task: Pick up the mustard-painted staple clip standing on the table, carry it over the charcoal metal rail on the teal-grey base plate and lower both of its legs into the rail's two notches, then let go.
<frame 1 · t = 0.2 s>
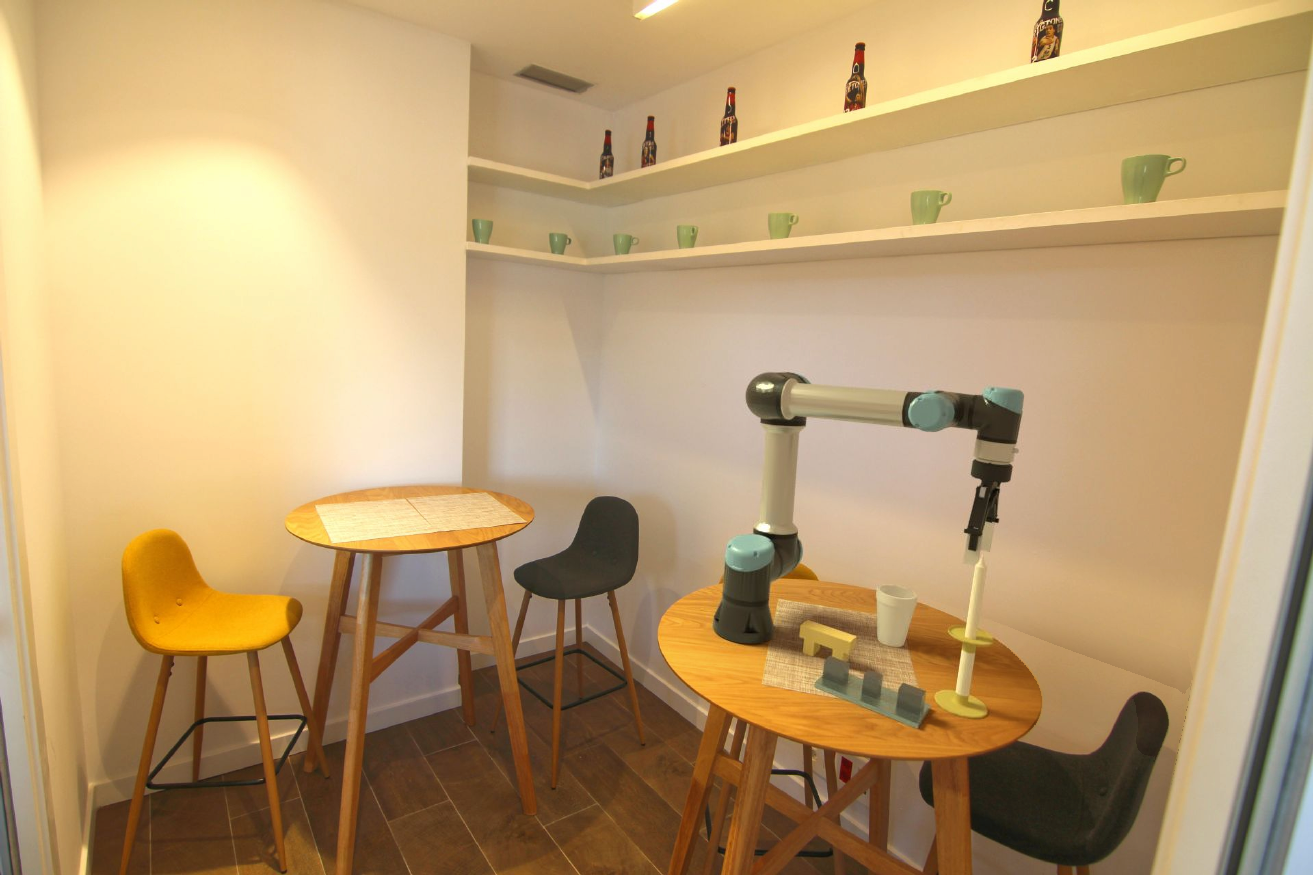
hand: (976, 557, 133), 29 cm above the table, fingers open, 13 cm apart
clip: (825, 656, 144), on the table
candle: (960, 705, 127), on the table
foam cup: (890, 641, 154), on the table
rail: (870, 697, 128), on the table
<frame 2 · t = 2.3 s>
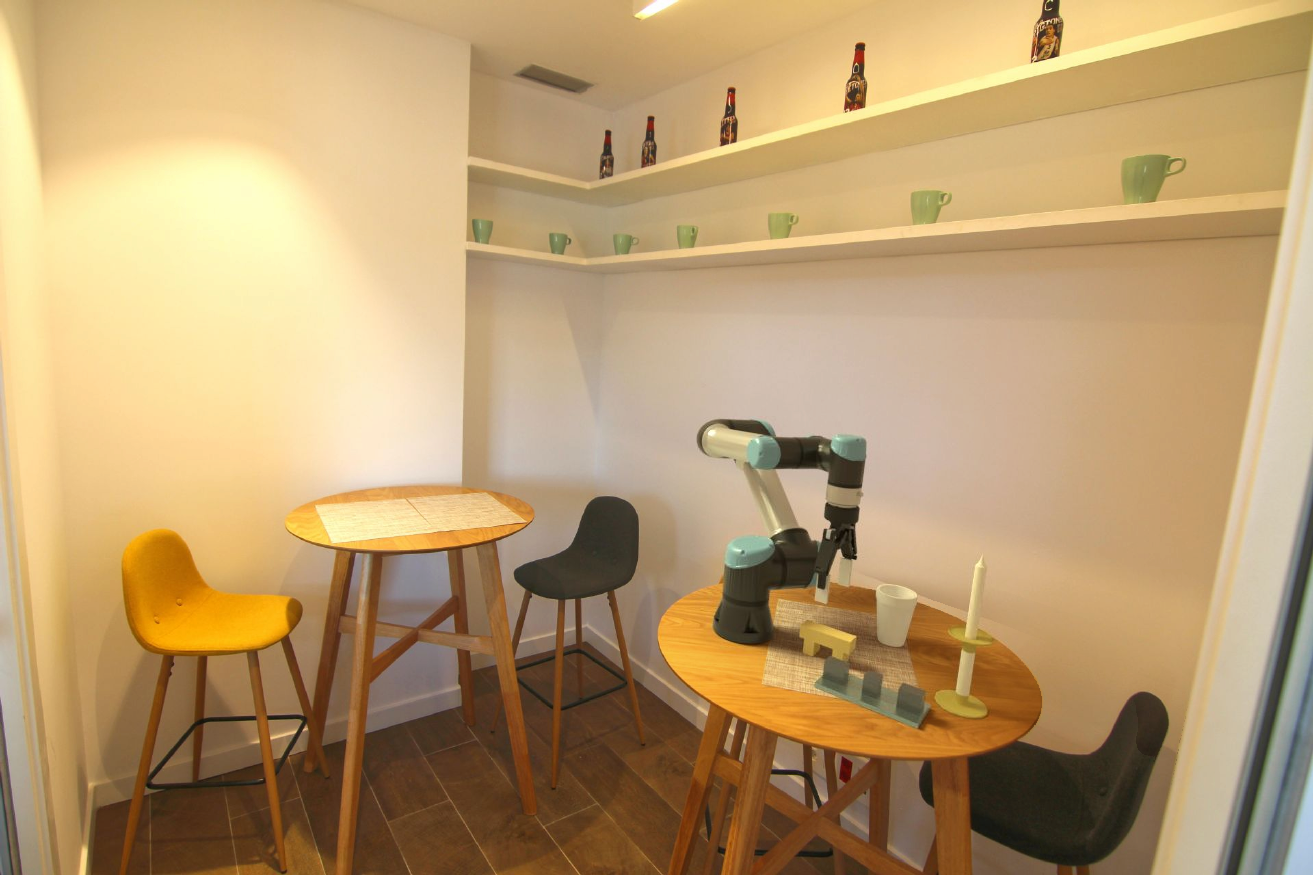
hand: (832, 593, 141), 16 cm above the table, fingers open, 13 cm apart
nothing on the table moved.
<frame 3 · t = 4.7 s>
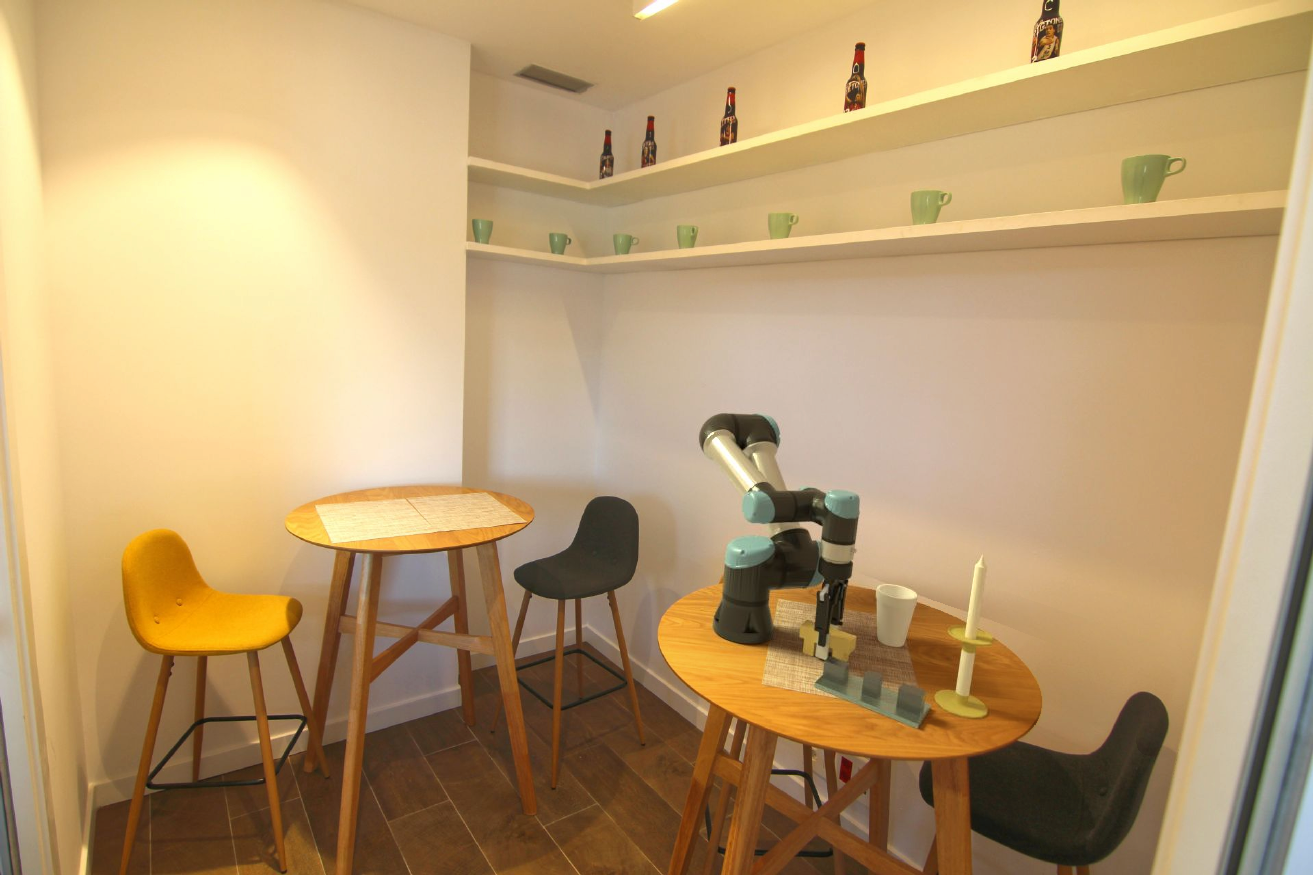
hand: (825, 653, 144), 1 cm above the table, fingers closed on clip, 4 cm apart
clip: (825, 656, 144), on the table, touching gripper
everything else where it was.
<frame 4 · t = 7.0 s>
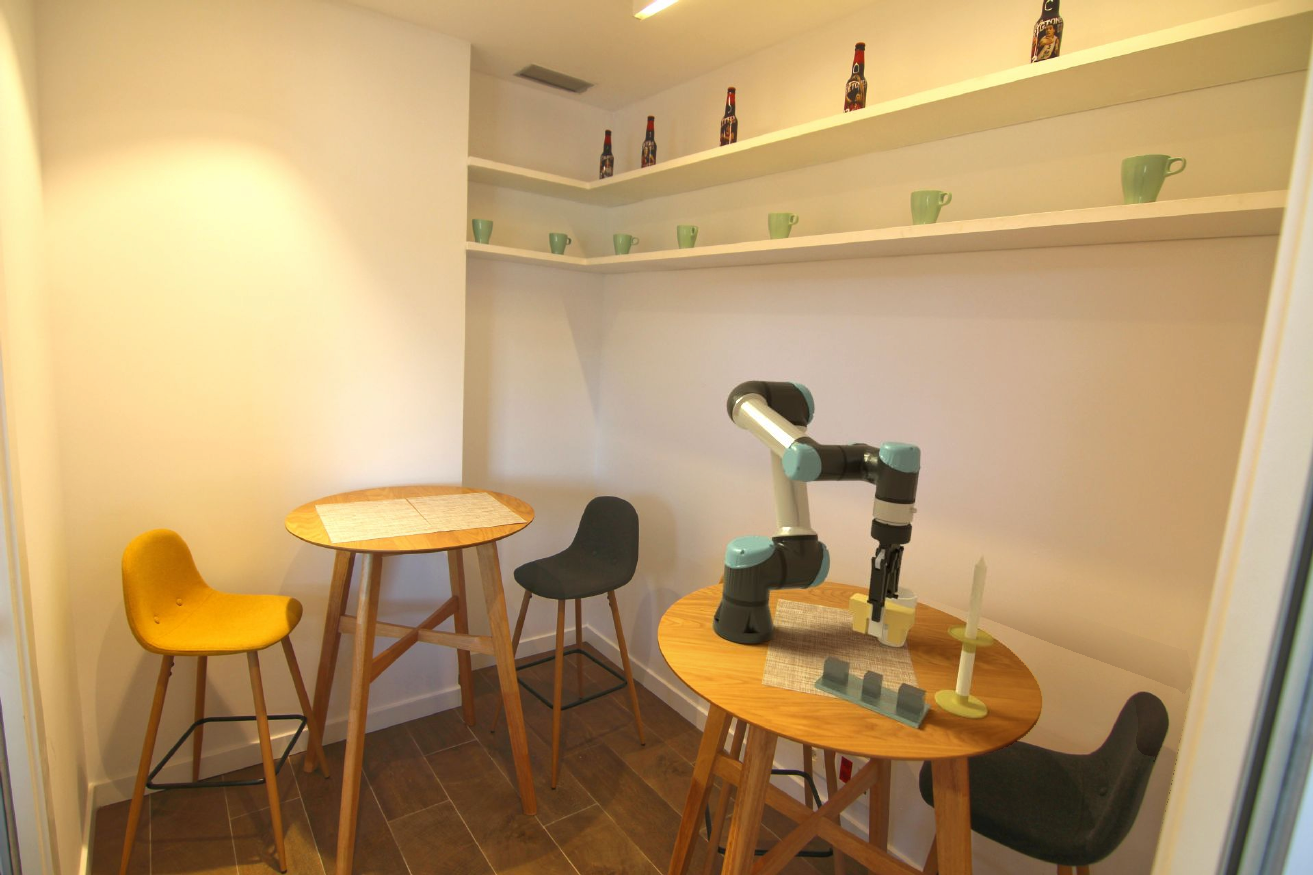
hand: (878, 631, 125), 15 cm above the table, fingers closed on clip, 4 cm apart
clip: (878, 634, 126), point 14 cm above the table, touching gripper
everything else where it was.
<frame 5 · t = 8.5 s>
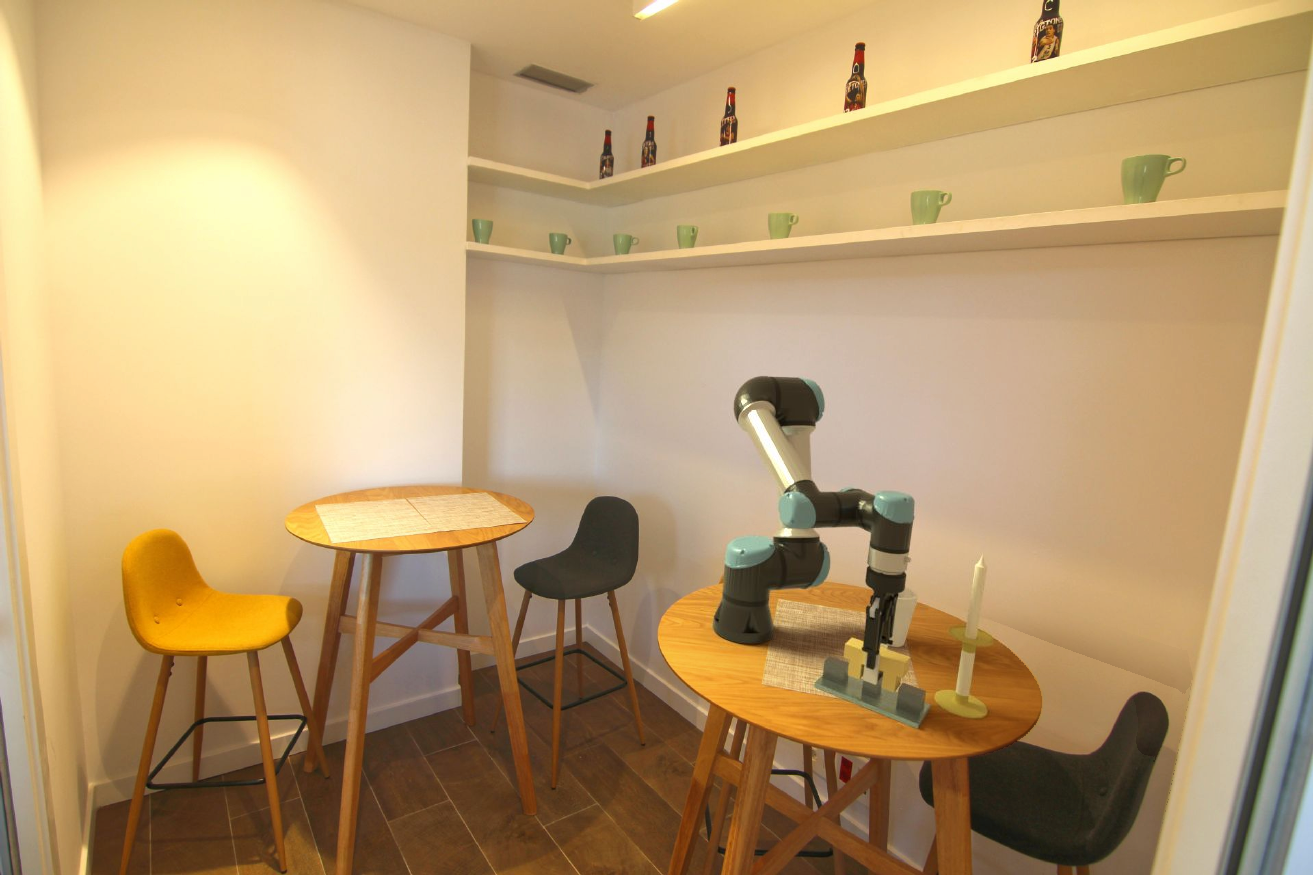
hand: (873, 677, 127), 5 cm above the table, fingers closed on clip, 4 cm apart
clip: (873, 679, 127), point 4 cm above the table, touching gripper
everything else where it was.
when the fingers open (3 cm above the table, at t = 9.5 s): clip stays where it is, resting on rail.
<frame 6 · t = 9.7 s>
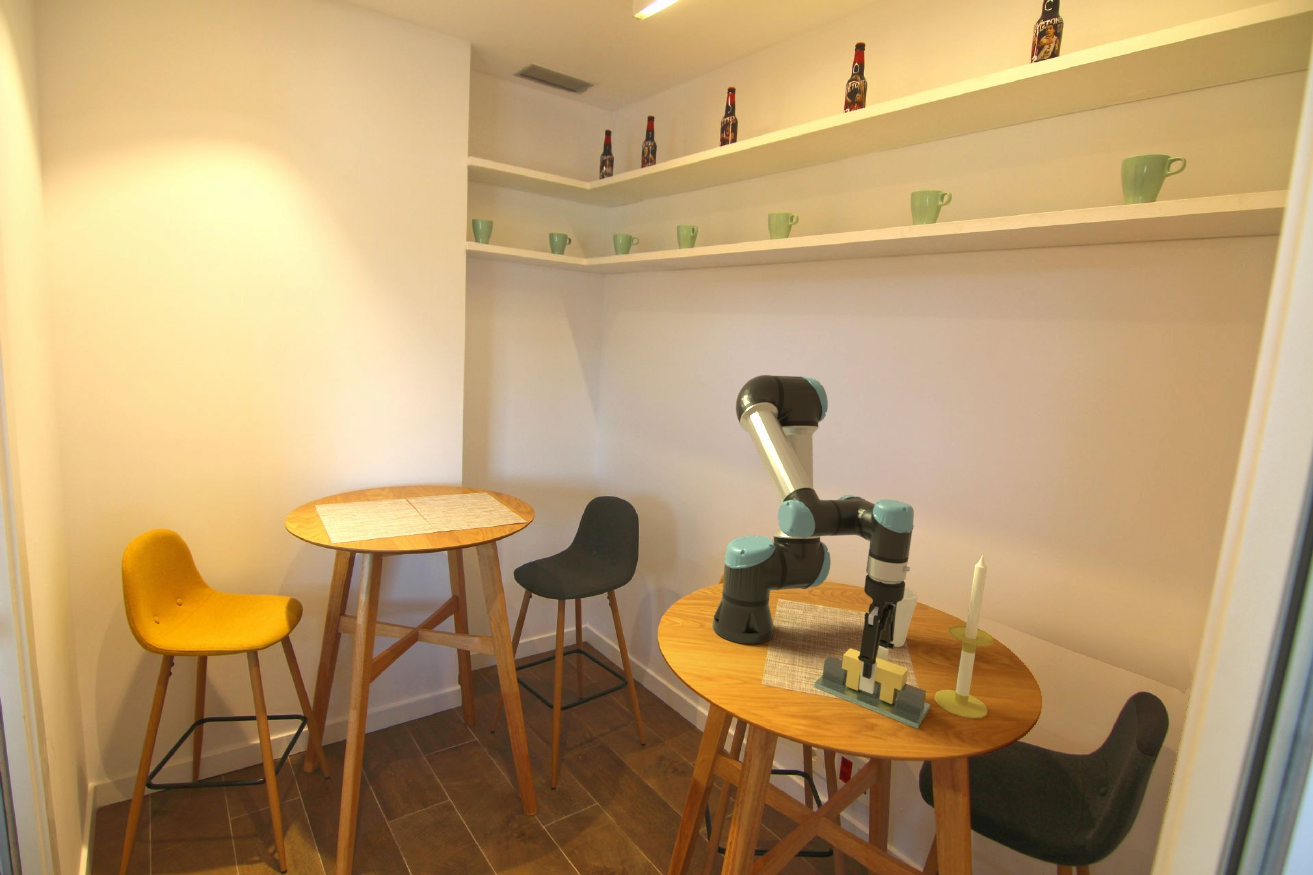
hand: (872, 683, 127), 3 cm above the table, fingers open, 7 cm apart
clip: (871, 690, 127), point 1 cm above the table, touching rail
everything else where it was.
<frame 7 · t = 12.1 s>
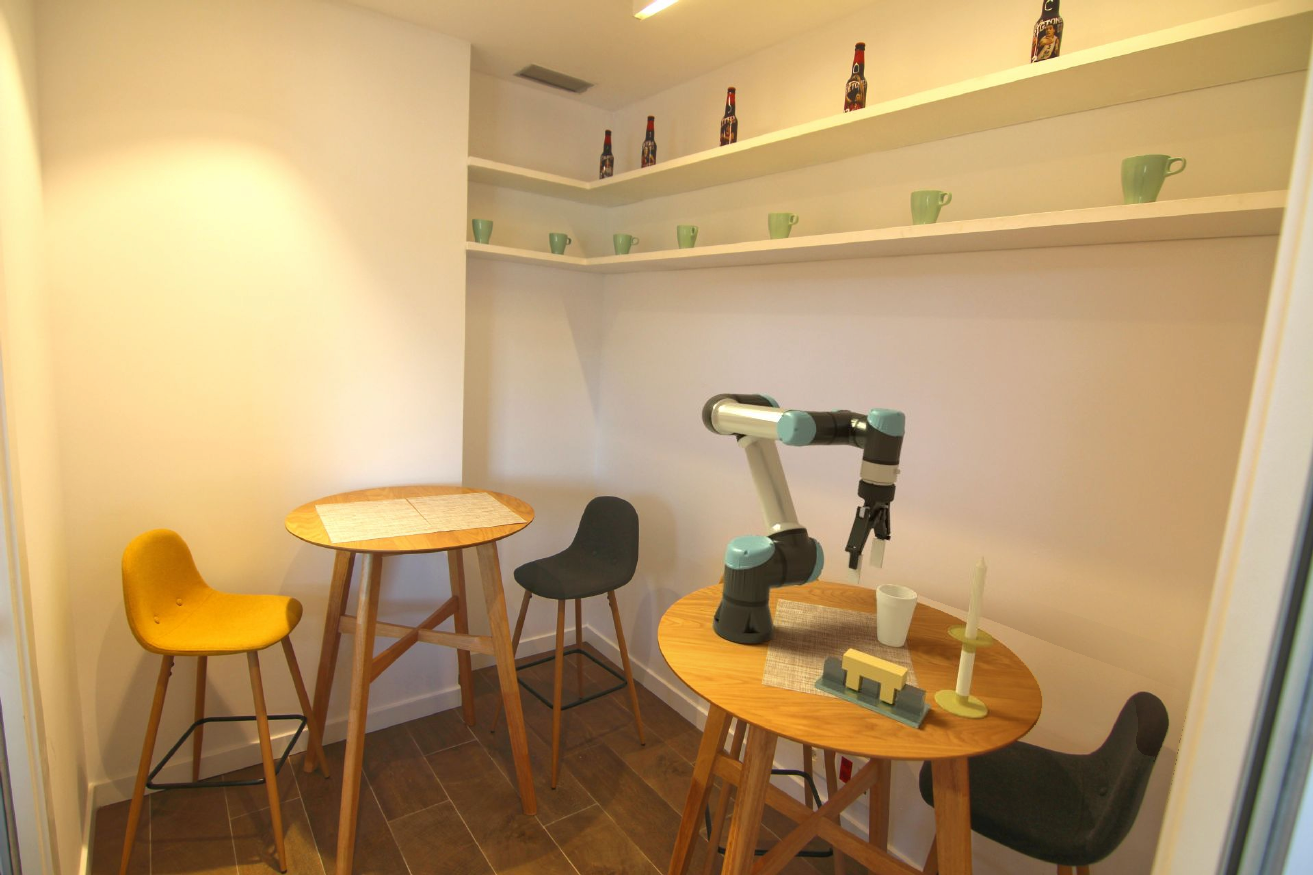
hand: (864, 574, 136), 22 cm above the table, fingers open, 13 cm apart
nothing on the table moved.
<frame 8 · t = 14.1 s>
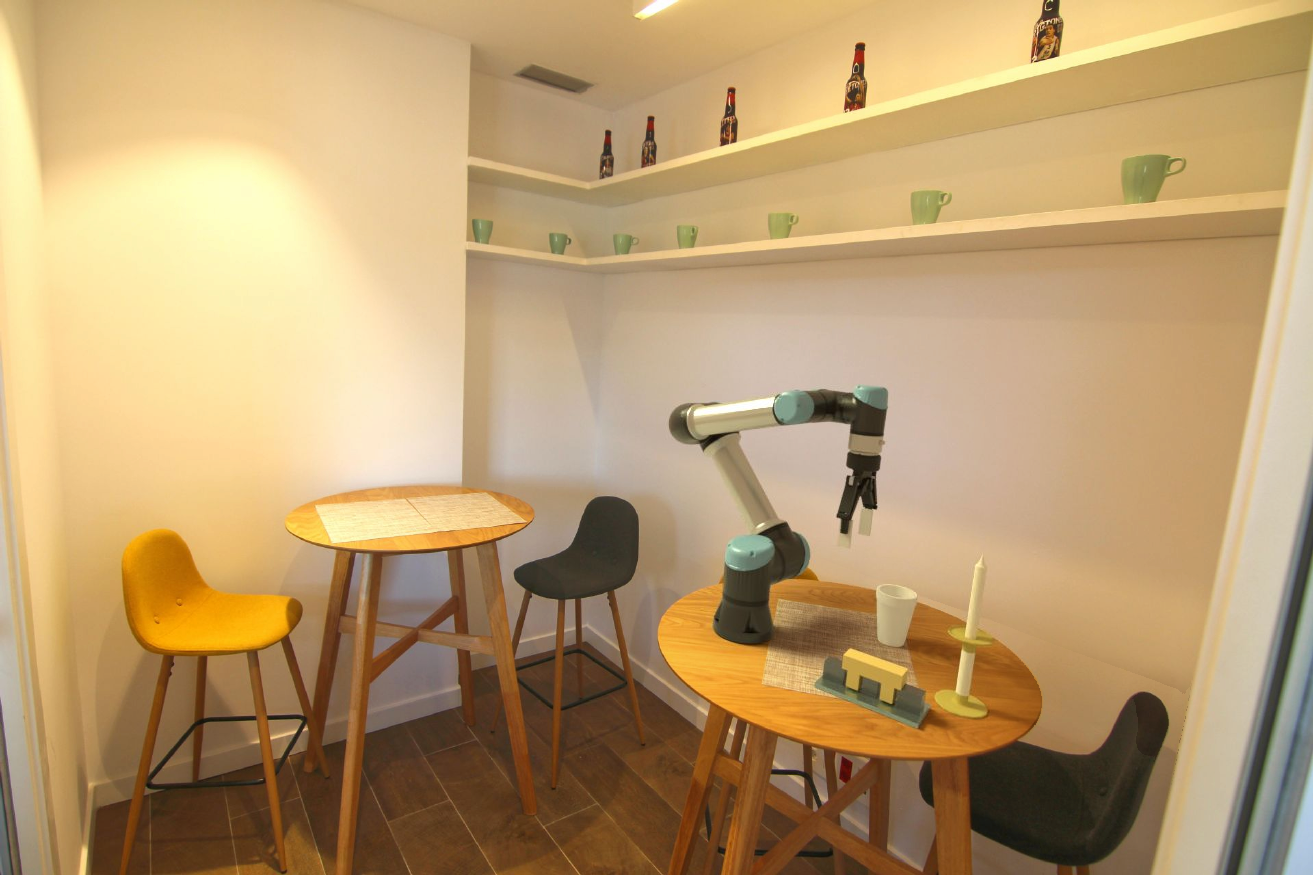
hand: (854, 540, 146), 27 cm above the table, fingers open, 13 cm apart
nothing on the table moved.
at the end: clip 0.0 cm off-centre on the rail, point 1.5 cm above the rail's base; clip tilted 0°; the gripper is holding nothing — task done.
